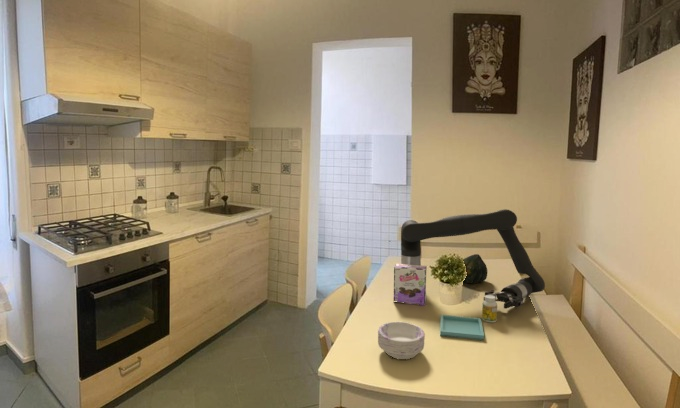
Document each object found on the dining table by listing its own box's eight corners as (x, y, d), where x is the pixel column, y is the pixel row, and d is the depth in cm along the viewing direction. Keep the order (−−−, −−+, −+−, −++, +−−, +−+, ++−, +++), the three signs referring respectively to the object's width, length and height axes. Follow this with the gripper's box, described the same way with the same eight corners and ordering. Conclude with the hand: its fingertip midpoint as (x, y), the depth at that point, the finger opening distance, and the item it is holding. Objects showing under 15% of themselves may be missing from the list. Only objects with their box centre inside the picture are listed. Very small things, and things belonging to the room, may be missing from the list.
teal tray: (440, 335, 148) (440, 331, 147) (440, 319, 162) (440, 314, 162) (483, 340, 144) (484, 335, 144) (480, 322, 158) (480, 318, 158)
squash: (446, 269, 208) (465, 251, 200) (462, 265, 218) (480, 247, 210) (464, 293, 201) (484, 275, 193) (479, 287, 211) (499, 270, 203)
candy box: (393, 302, 179) (393, 266, 177) (395, 298, 185) (395, 262, 183) (425, 305, 176) (425, 268, 173) (426, 300, 181) (426, 265, 179)
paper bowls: (432, 360, 131) (433, 337, 130) (388, 368, 126) (389, 344, 125) (411, 339, 145) (411, 318, 144) (371, 345, 141) (371, 323, 140)
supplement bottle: (499, 321, 159) (500, 297, 158) (489, 323, 157) (490, 300, 156) (489, 316, 164) (490, 293, 163) (478, 318, 162) (479, 295, 161)
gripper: (498, 280, 178) (478, 289, 167) (531, 289, 167) (512, 298, 156) (497, 297, 179) (477, 306, 168) (530, 306, 168) (511, 317, 157)
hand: (494, 303), depth 162 cm, fingers open, 8 cm apart
